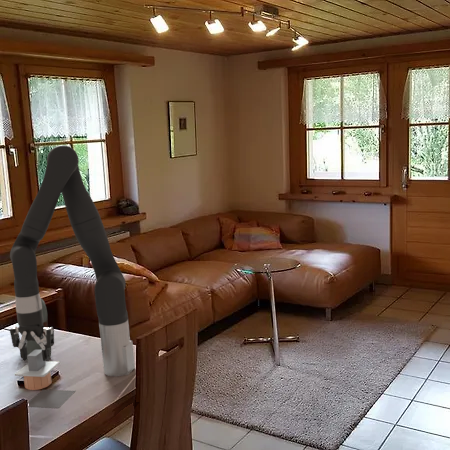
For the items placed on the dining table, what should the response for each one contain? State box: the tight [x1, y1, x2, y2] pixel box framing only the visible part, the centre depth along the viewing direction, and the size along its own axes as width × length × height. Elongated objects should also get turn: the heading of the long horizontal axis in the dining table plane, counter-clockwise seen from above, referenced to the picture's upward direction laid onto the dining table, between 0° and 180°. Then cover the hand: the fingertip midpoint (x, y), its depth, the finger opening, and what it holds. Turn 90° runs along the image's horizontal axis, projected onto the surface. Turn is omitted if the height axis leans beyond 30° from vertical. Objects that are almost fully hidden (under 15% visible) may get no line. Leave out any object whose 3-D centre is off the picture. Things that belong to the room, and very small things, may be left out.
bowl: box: [23, 371, 53, 391], centre depth 185 cm, size 8×8×5 cm
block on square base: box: [13, 350, 61, 377], centre depth 184 cm, size 10×10×6 cm
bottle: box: [25, 296, 52, 363], centre depth 204 cm, size 9×9×30 cm
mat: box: [27, 389, 76, 409], centre depth 175 cm, size 11×11×1 cm
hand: (35, 359), depth 184 cm, fingers open, 6 cm apart
